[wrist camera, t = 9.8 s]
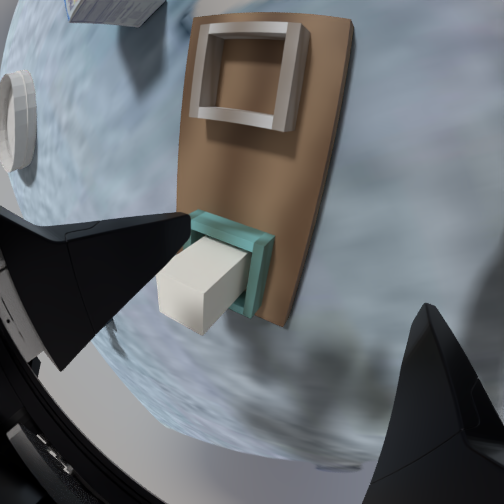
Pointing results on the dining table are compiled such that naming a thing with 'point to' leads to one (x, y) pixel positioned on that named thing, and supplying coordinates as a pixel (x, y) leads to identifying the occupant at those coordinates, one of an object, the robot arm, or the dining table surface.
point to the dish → (17, 120)
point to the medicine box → (111, 11)
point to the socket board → (261, 141)
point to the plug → (203, 282)
